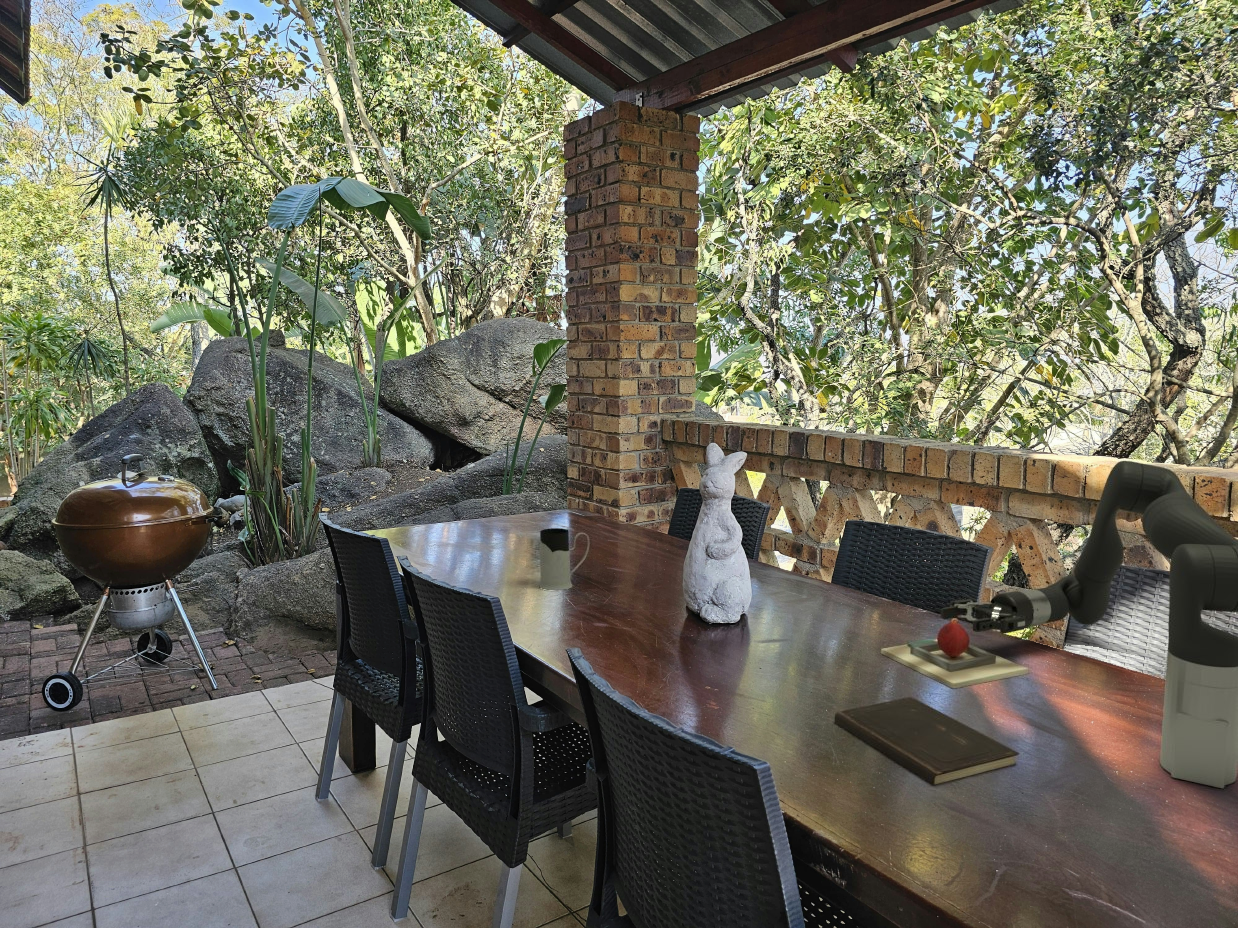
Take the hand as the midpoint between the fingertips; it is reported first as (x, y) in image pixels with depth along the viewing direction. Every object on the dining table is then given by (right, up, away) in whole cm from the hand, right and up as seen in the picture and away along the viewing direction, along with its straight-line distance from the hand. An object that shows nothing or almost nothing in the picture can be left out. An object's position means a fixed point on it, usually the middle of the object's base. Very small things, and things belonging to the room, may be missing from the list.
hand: (957, 620), depth 167 cm
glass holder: (-80, -2, +61) cm, 101 cm away
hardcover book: (-19, -14, -32) cm, 40 cm away
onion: (-1, -8, +1) cm, 8 cm away
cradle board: (-1, -9, +1) cm, 9 cm away
